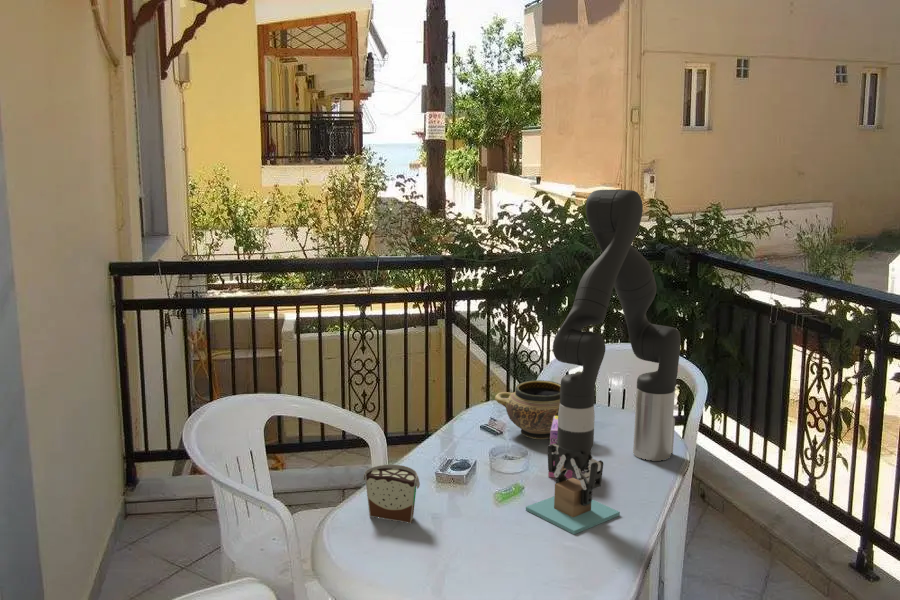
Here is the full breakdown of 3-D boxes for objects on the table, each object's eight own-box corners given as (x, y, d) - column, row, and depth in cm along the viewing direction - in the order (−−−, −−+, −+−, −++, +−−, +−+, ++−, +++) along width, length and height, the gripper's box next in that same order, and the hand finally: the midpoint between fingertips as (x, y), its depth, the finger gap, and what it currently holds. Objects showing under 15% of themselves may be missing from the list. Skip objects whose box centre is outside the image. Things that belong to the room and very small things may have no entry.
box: (572, 479, 198) (574, 431, 196) (548, 477, 199) (549, 429, 197) (575, 462, 208) (577, 416, 206) (551, 460, 209) (553, 415, 207)
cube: (571, 501, 185) (572, 477, 184) (591, 510, 181) (592, 485, 179) (554, 508, 181) (554, 484, 180) (573, 517, 177) (574, 492, 176)
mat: (571, 493, 191) (571, 489, 191) (619, 515, 180) (619, 511, 180) (525, 510, 182) (525, 506, 182) (573, 534, 171) (574, 530, 171)
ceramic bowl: (486, 443, 228) (481, 395, 222) (511, 408, 242) (508, 362, 236) (574, 460, 217) (571, 410, 211) (595, 423, 231) (593, 375, 225)
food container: (428, 512, 181) (428, 468, 179) (417, 525, 175) (417, 479, 173) (375, 503, 185) (374, 460, 183) (363, 515, 179) (362, 471, 177)
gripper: (614, 430, 174) (610, 506, 177) (563, 411, 185) (560, 483, 188) (589, 438, 169) (586, 516, 173) (538, 418, 180) (536, 492, 184)
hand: (573, 498), depth 180 cm, fingers open, 6 cm apart
